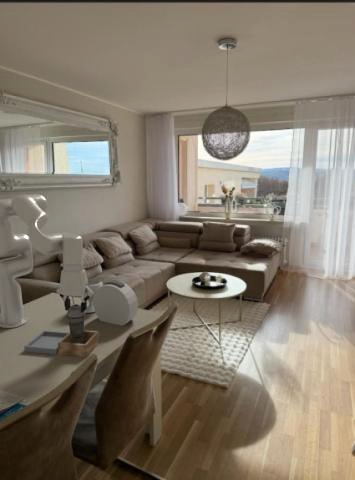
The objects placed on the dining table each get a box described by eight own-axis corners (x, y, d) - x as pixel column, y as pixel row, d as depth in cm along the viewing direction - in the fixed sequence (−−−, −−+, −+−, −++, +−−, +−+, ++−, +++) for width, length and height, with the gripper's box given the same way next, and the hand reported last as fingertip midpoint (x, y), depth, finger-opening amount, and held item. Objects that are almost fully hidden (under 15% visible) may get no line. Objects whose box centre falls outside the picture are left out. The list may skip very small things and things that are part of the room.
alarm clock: (138, 320, 161) (137, 281, 158) (130, 327, 155) (128, 286, 151) (103, 313, 170) (101, 276, 166) (93, 319, 164) (91, 280, 160)
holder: (58, 354, 132) (57, 343, 131) (73, 340, 143) (72, 329, 142) (87, 357, 130) (86, 345, 129) (99, 342, 141) (99, 331, 140)
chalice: (72, 312, 172) (69, 284, 169) (88, 302, 185) (86, 276, 182) (95, 315, 168) (93, 287, 165) (109, 305, 181) (108, 279, 178)
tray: (24, 351, 135) (24, 346, 134) (44, 335, 148) (43, 330, 148) (56, 354, 132) (55, 349, 132) (73, 337, 146) (73, 332, 145)
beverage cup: (81, 346, 132) (78, 298, 128) (64, 344, 134) (61, 297, 130) (89, 337, 139) (87, 292, 135) (73, 335, 141) (71, 290, 136)
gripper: (48, 268, 128) (51, 311, 132) (90, 271, 125) (92, 316, 129) (58, 262, 135) (60, 304, 139) (98, 265, 132) (99, 308, 136)
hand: (75, 309), depth 134 cm, fingers closed on beverage cup, 6 cm apart
